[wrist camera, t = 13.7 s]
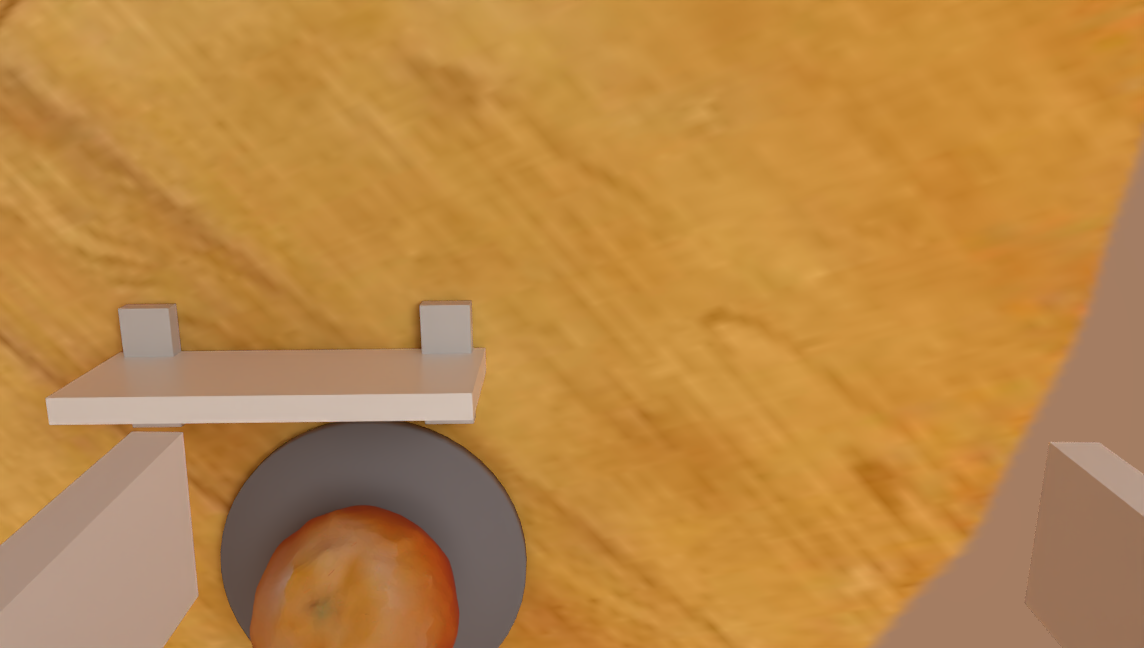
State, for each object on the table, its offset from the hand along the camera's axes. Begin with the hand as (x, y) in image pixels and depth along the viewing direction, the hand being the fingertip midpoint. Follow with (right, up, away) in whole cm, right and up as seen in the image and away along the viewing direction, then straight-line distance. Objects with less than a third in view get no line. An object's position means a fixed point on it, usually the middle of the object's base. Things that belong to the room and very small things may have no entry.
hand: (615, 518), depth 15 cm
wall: (-12, +1, +26) cm, 28 cm away
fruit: (-9, -7, +27) cm, 29 cm away
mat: (-9, -7, +28) cm, 30 cm away
